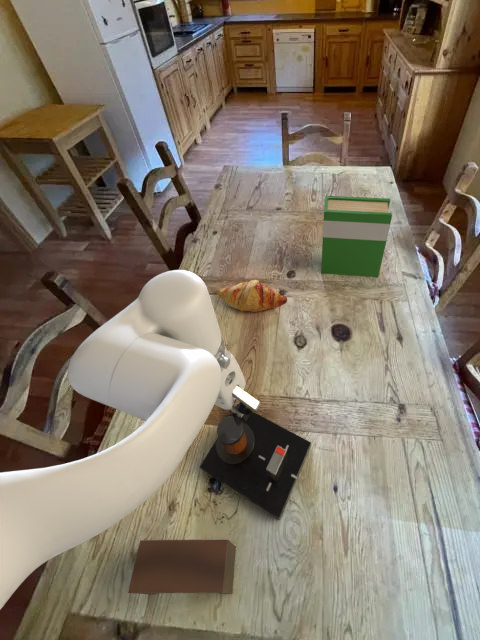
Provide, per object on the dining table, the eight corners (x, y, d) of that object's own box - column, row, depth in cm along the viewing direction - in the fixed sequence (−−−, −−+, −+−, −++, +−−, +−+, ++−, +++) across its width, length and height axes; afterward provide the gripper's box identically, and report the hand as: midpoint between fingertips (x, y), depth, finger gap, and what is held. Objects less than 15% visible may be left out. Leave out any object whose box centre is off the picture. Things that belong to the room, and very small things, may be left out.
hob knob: (276, 481, 65) (275, 474, 62) (267, 476, 66) (265, 468, 62) (287, 458, 68) (286, 449, 64) (278, 453, 69) (277, 444, 65)
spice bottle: (238, 460, 68) (233, 448, 63) (218, 447, 70) (211, 435, 65) (251, 435, 71) (247, 423, 66) (231, 424, 73) (226, 411, 68)
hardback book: (377, 260, 110) (389, 198, 93) (378, 277, 105) (392, 215, 88) (322, 256, 112) (325, 195, 95) (320, 273, 107) (323, 211, 90)
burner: (241, 472, 67) (241, 471, 66) (208, 452, 69) (207, 451, 69) (261, 433, 72) (261, 432, 71) (230, 415, 74) (229, 415, 74)
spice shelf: (232, 593, 56) (222, 592, 50) (148, 594, 57) (127, 593, 50) (236, 546, 61) (227, 539, 54) (158, 547, 61) (140, 540, 54)
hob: (281, 521, 63) (280, 519, 61) (201, 470, 69) (199, 467, 67) (312, 447, 72) (312, 442, 70) (239, 407, 78) (237, 403, 76)
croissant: (217, 310, 102) (208, 306, 94) (223, 278, 105) (214, 271, 97) (286, 318, 99) (283, 314, 91) (291, 284, 102) (287, 278, 94)
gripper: (266, 352, 44) (274, 406, 56) (164, 306, 50) (191, 363, 62) (234, 405, 39) (251, 451, 51) (126, 347, 45) (163, 400, 57)
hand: (218, 403), depth 57 cm, fingers open, 9 cm apart
